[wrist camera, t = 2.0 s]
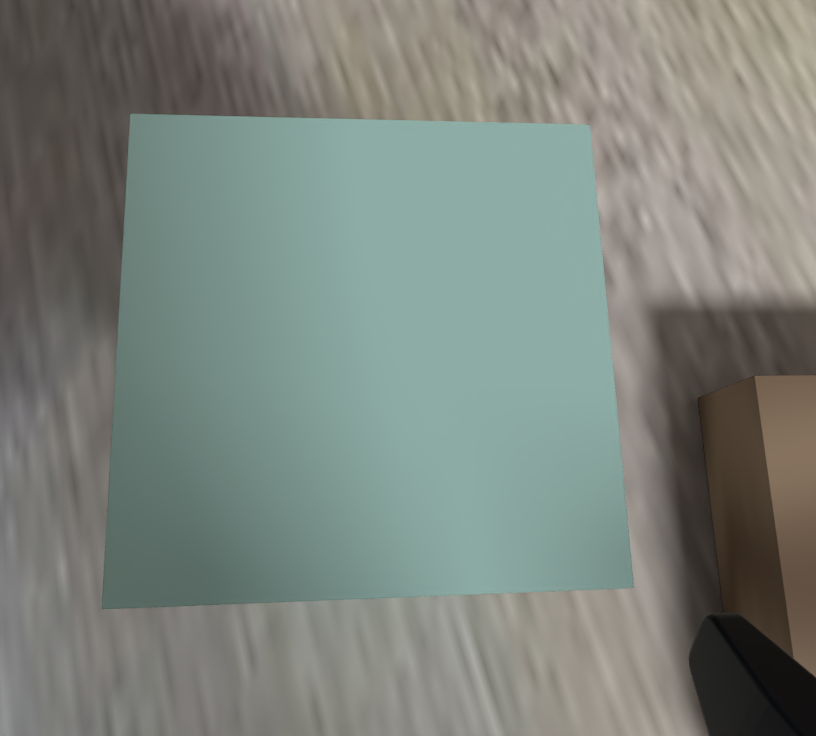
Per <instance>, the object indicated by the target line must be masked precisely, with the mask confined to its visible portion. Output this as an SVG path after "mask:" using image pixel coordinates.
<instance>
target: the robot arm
mask: <svg viewBox="0 0 816 736" xmlns="http://www.w3.org/2000/svg"><path fill="white" fill-rule="evenodd" d="M689 666H690V671H691V675H692V678H693V682H694V685H695V689H696V692H697V696H698V699H699V702H700V706H701V709H702V713H703V716H704V719H705V723H706V726H707V730H708V733H709V736H816V677H815V676H814V675H813V674H812V673H810V672H809V671H808V670H807V669H806V668H804V667H803V666H802V665H801V664H800V663H798V662H797V661H796V660H795V659H794V658H792V657H791V656H790V655H789V654H788V653H786V652H785V651H784V650H783V649H782V648H781V647H779V646H778V645H777V644H776V643H775V642H773V641H772V640H771V639H770V638H769V637H767V636H766V635H765V634H764V633H763V632H761V631H760V630H759V629H758V628H757V627H755V626H754V625H753V624H752V623H751V622H750V621H748V620H747V619H746V618H745V617H743V616H742V615H740V614H738V613H736V612H716V613H708V614H706V615H705V616H704V617H703V619H702V621H701V623H700V626H699V629H698V631H697V634H696V637H695V639H694V642H693V644H692V647H691V650H690V654H689Z"/></svg>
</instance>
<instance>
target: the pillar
mask: <svg viewBox="0 0 816 736" xmlns="http://www.w3.org/2000/svg"><path fill="white" fill-rule="evenodd" d="M620 588H634V582H633V572H632V561H631V551H630V540H629V530H628V519H627V509H626V499H625V488H624V478H623V467H622V457H621V446H620V436H619V425H618V415H617V404H616V394H615V383H614V373H613V362H612V352H611V341H610V331H609V320H608V310H607V299H606V289H605V278H604V268H603V257H602V247H601V237H600V226H599V216H598V205H597V195H596V184H595V174H594V163H593V153H592V142H591V132H590V125H574V124H533V123H492V122H450V121H409V120H368V119H327V118H285V117H244V116H203V115H161V114H130V129H129V146H128V163H127V180H126V198H125V215H124V232H123V250H122V267H121V284H120V301H119V319H118V336H117V353H116V370H115V388H114V405H113V422H112V440H111V457H110V474H109V491H108V509H107V526H106V543H105V561H104V578H103V595H102V609H120V608H145V607H170V606H195V605H220V604H245V603H270V602H295V601H320V600H345V599H370V598H395V597H420V596H445V595H470V594H495V593H520V592H545V591H570V590H595V589H620Z"/></svg>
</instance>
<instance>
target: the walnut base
mask: <svg viewBox="0 0 816 736" xmlns="http://www.w3.org/2000/svg"><path fill="white" fill-rule="evenodd" d="M698 403H699V412H700V420H701V428H702V437H703V445H704V453H705V462H706V470H707V478H708V486H709V495H710V503H711V511H712V520H713V528H714V536H715V545H716V553H717V561H718V570H719V578H720V586H721V595H722V603H723V611H724V612H736V613H738V614H740V615H742V616H743V617H745V618H746V619H747V620H748V621H750V622H751V623H752V624H753V625H754V626H755V627H757V628H758V629H759V630H760V631H761V632H763V633H764V634H765V635H766V636H767V637H769V638H770V639H771V640H772V641H773V642H775V643H776V644H777V645H778V646H779V647H781V648H782V649H783V650H784V651H785V652H786V653H788V654H789V655H790V656H791V657H792V658H794V659H795V660H796V661H797V662H798V663H800V664H801V665H802V666H803V667H804V668H806V669H807V670H808V671H809V672H810V673H812V674H813V675H814V676H815V677H816V375H781V376H753V377H750V378H748V379H745V380H743V381H740V382H738V383H735V384H732V385H730V386H727V387H725V388H722V389H720V390H717V391H715V392H712V393H710V394H707V395H705V396H702V397H699V398H698Z"/></svg>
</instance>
